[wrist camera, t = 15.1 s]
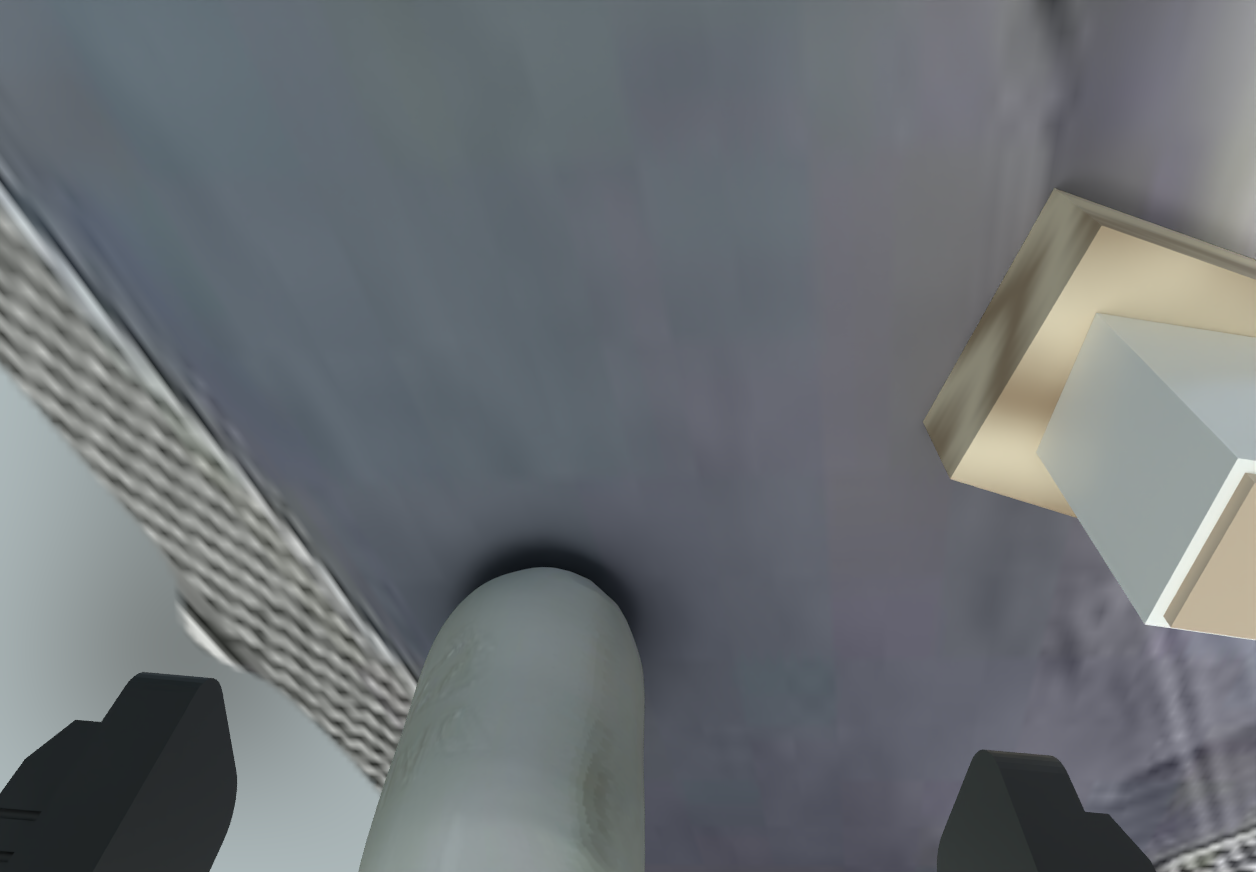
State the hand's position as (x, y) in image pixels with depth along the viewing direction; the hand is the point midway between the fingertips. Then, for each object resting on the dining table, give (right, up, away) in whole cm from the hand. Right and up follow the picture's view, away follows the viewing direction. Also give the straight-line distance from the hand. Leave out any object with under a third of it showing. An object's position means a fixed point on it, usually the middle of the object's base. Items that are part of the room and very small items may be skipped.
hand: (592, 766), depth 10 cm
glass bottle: (-4, -5, +38) cm, 39 cm away
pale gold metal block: (+20, +7, +30) cm, 37 cm away
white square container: (+20, +5, +26) cm, 33 cm away
